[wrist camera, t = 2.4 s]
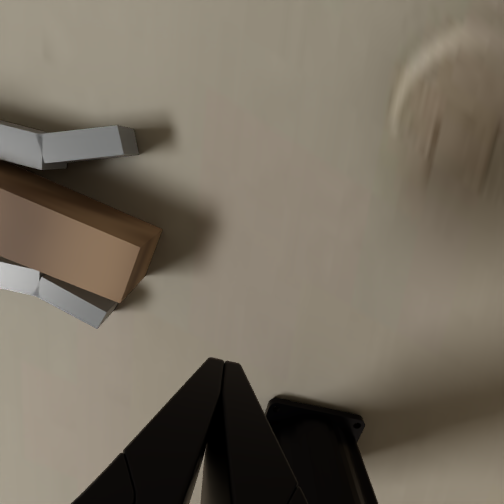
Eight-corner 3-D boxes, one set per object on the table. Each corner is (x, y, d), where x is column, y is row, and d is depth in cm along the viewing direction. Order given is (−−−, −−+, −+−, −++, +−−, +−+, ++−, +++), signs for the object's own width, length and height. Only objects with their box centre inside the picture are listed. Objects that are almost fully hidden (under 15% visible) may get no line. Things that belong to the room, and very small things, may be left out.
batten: (164, 228, 16) (140, 247, 13) (146, 274, 17) (119, 303, 14) (-24, 146, 15) (-104, 144, 11) (-32, 201, 16) (-109, 213, 12)
